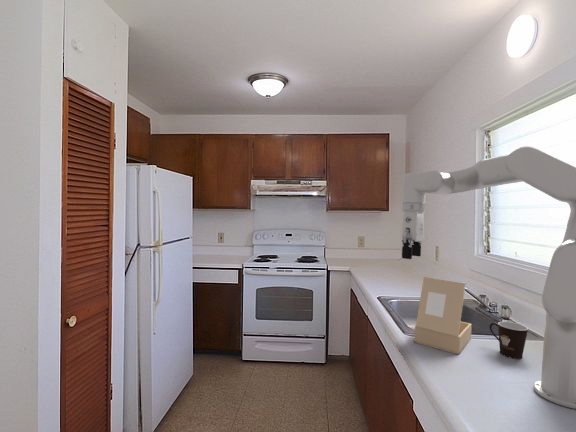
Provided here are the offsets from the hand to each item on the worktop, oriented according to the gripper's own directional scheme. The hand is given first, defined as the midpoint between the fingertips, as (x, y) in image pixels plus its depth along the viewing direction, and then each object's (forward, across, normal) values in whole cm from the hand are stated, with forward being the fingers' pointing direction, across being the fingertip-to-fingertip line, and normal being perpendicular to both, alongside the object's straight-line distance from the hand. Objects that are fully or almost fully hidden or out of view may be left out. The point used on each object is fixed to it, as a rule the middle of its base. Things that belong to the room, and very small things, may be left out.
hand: (411, 257), depth 122 cm
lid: (+17, +8, -8) cm, 21 cm away
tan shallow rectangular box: (+32, +14, -8) cm, 36 cm away
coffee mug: (+32, +18, -28) cm, 47 cm away
